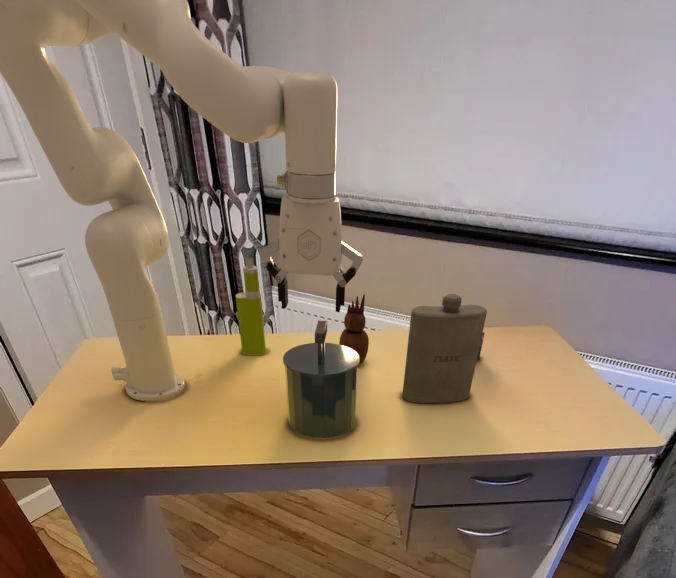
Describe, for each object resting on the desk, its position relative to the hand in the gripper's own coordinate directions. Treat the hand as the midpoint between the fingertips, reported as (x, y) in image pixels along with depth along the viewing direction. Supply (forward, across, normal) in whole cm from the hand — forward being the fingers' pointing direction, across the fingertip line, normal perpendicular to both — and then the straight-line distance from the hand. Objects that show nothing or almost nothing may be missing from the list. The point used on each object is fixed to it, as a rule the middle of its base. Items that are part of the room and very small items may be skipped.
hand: (311, 307), depth 91 cm
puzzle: (+20, +34, +31) cm, 50 cm away
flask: (+20, +26, +10) cm, 34 cm away
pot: (+20, +2, -4) cm, 21 cm away
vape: (+21, -18, +29) cm, 40 cm away
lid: (+8, +2, -4) cm, 9 cm away
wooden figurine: (+20, +7, +26) cm, 34 cm away
